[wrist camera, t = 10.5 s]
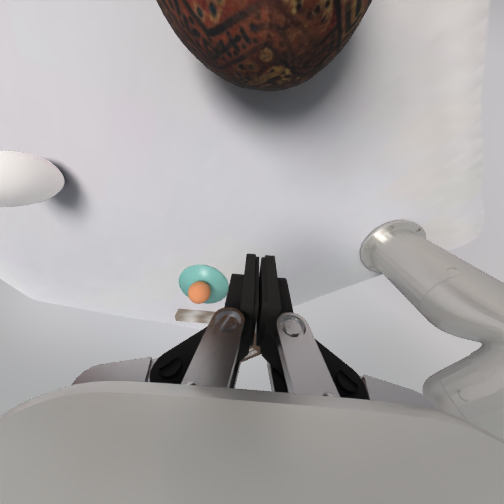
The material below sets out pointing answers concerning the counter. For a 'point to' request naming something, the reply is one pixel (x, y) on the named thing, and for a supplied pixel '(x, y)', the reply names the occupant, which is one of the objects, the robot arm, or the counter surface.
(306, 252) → the counter surface
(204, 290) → the ball
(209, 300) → the teal disc
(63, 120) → the counter surface
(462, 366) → the robot arm
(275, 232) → the counter surface
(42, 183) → the sauce bottle
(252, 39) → the ceramic vessel
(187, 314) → the strip
